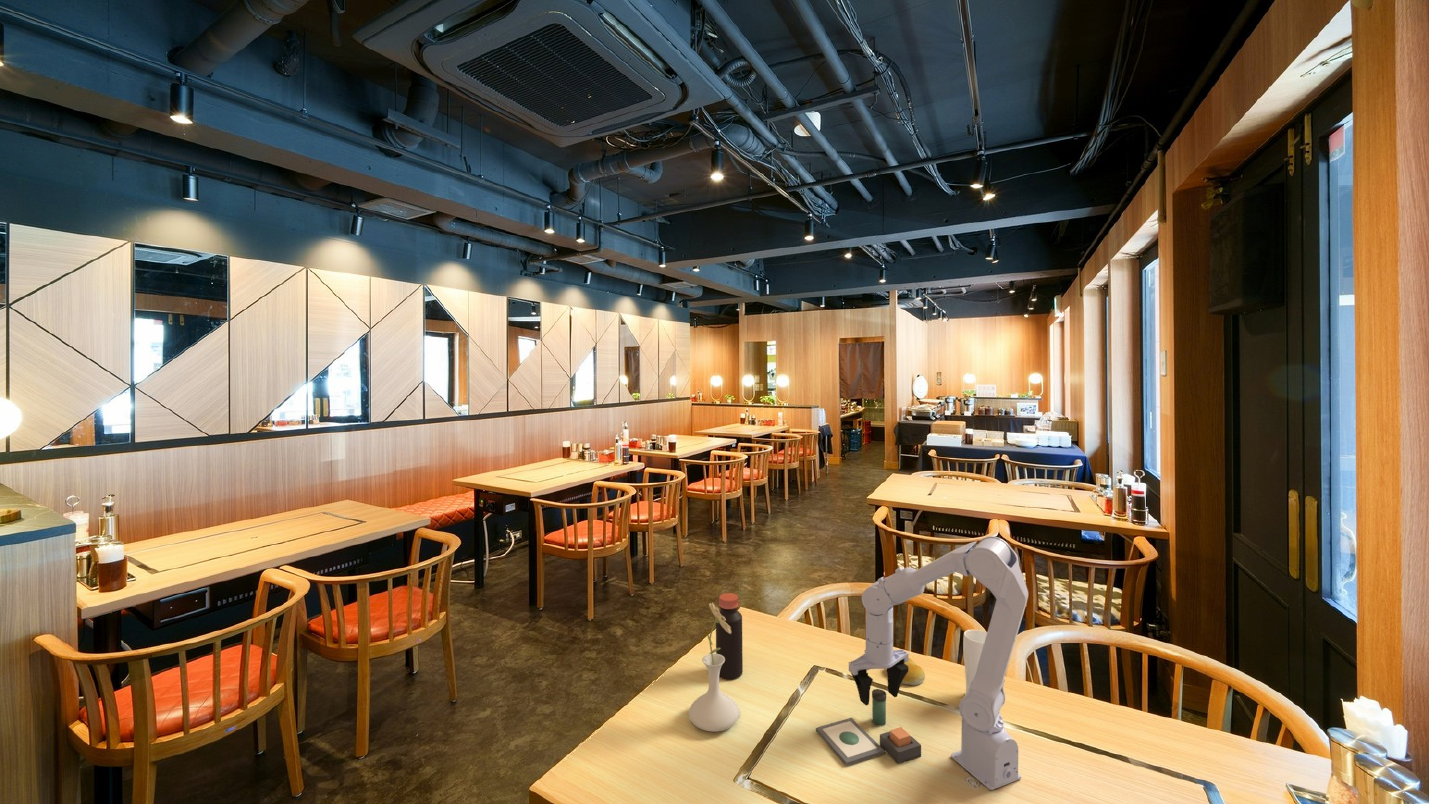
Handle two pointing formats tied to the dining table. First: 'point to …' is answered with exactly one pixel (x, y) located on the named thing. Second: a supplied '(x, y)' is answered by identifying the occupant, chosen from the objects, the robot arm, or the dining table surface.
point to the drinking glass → (972, 652)
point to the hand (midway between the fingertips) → (878, 698)
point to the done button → (900, 737)
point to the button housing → (900, 749)
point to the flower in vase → (714, 692)
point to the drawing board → (849, 741)
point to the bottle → (730, 637)
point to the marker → (879, 707)
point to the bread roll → (913, 674)
